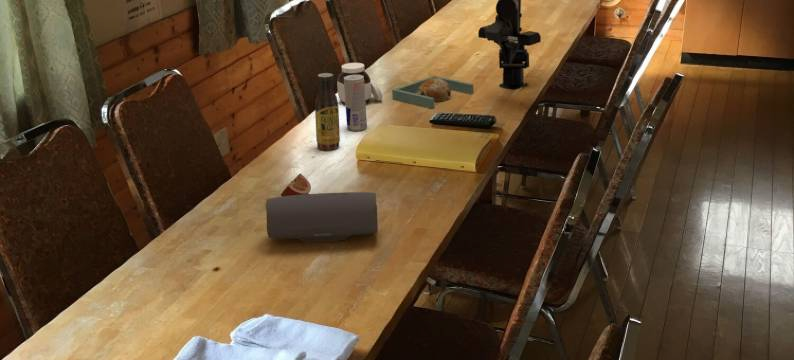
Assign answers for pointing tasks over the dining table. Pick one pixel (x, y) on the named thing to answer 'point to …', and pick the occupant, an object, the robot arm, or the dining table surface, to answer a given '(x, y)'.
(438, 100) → the bread roll
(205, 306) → the dining table surface
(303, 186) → the fruit slice
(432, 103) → the teal u-shaped frame
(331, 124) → the sauce bottle
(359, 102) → the beverage can
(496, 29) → the robot arm
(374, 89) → the spread jar
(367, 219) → the bluetooth speaker
